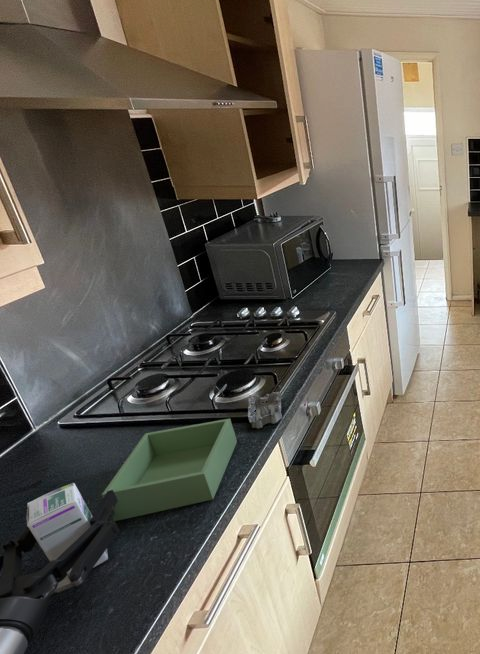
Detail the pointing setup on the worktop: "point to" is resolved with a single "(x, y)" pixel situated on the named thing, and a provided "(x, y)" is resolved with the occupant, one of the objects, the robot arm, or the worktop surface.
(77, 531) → the syrup box
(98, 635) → the worktop surface
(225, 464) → the storage tray
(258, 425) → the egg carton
